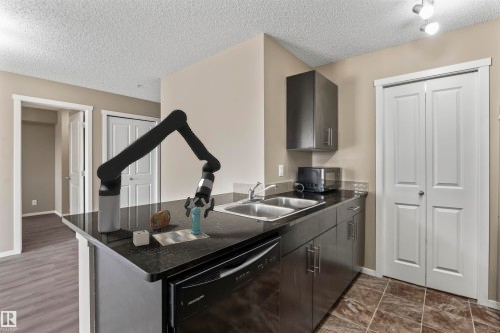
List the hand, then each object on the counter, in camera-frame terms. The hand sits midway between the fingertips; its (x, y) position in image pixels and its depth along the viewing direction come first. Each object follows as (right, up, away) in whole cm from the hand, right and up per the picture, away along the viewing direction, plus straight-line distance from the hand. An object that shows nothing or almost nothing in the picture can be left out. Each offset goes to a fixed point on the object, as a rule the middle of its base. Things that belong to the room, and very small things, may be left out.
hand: (195, 216), depth 114 cm
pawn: (0, -8, +1) cm, 8 cm away
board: (-6, -8, -4) cm, 11 cm away
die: (-19, -8, -14) cm, 26 cm away
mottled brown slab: (-21, -8, +11) cm, 25 cm away
